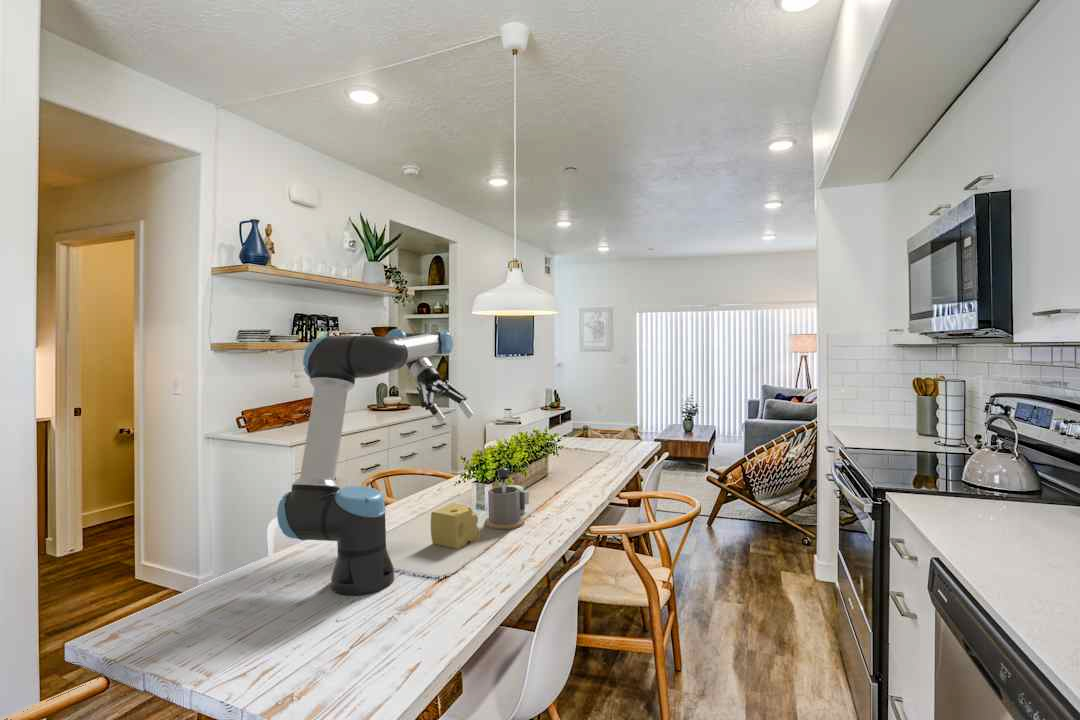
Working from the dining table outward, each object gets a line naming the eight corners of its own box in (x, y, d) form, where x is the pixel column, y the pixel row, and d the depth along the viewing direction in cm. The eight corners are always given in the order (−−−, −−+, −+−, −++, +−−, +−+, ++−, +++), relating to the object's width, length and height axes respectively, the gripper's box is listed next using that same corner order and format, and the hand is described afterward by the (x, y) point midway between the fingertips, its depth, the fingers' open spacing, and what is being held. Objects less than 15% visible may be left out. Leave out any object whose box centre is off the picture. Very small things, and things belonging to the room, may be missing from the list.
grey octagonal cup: (532, 524, 182) (531, 491, 182) (495, 532, 176) (494, 497, 175) (514, 514, 194) (513, 482, 193) (478, 521, 187) (477, 488, 187)
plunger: (517, 517, 183) (516, 469, 183) (500, 521, 180) (498, 472, 180) (509, 512, 189) (507, 465, 188) (491, 516, 186) (490, 468, 185)
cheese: (479, 539, 171) (478, 506, 170) (456, 550, 161) (455, 516, 161) (453, 533, 176) (452, 502, 176) (429, 544, 167) (428, 511, 167)
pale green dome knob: (533, 513, 195) (532, 487, 194) (508, 518, 190) (507, 491, 190) (523, 508, 201) (522, 483, 201) (498, 512, 197) (497, 487, 196)
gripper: (446, 379, 211) (476, 421, 202) (392, 383, 191) (424, 430, 182) (455, 365, 207) (487, 407, 199) (402, 368, 187) (435, 415, 179)
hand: (457, 418), depth 190 cm, fingers open, 13 cm apart
